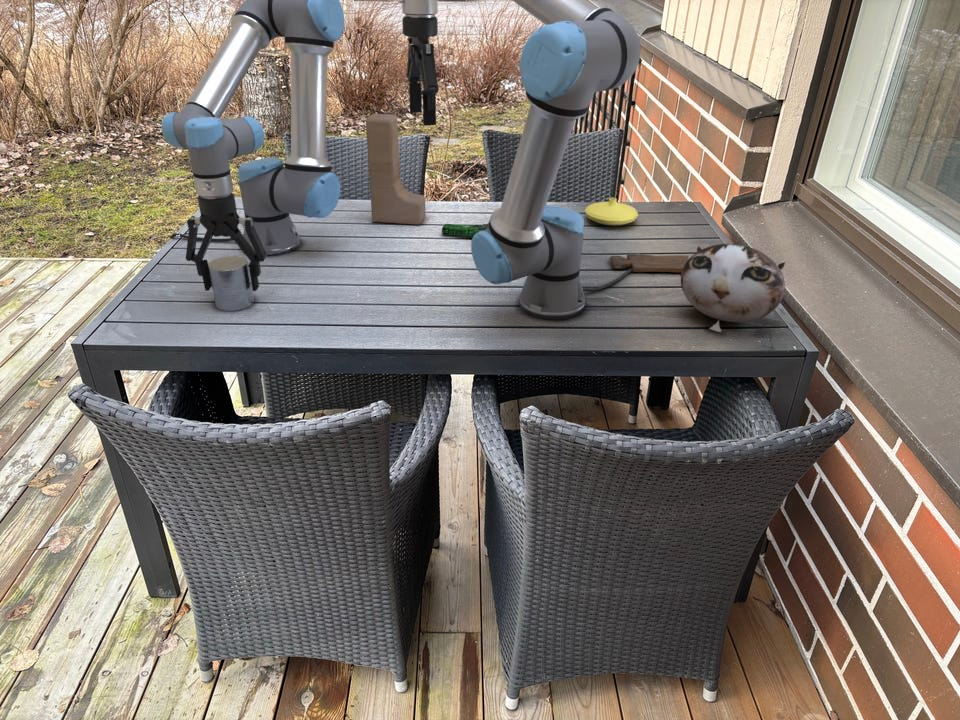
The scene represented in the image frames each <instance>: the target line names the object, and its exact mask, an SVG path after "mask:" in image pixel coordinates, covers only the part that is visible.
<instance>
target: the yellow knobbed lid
mask: <svg viewBox="0 0 960 720" xmlns="http://www.w3.org/2000/svg"><path fill="white" fill-rule="evenodd" d="M584 211H585V216H586V217H587V218H588V219H590V220H592V221H593V222H595V223H597V224H600V225H603V226H610V227H611V226H612V227H615V226H624V225H627V224H631V223H633V222H634V221H636V220H637V218H638V217H639V213H638V211H637V210H636V208H635V207H634V206H632V205H629V204H626V203H623V202H617V198H616V197H609V198H608V201H599V202H598V201H597V202H594V203H591V204H589V205H588V206H587V207H586V208H585V210H584Z"/></svg>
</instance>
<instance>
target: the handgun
mask: <svg viewBox="0 0 960 720" xmlns="http://www.w3.org/2000/svg"><path fill="white" fill-rule="evenodd" d="M487 227H488V223H483V224H482V225H479V224H472V225H459V224H453V223H445V224H443V226H442V227H441V235H446V236H454V237H462V238H469V239H470V238H471V239H472V238H473V236H474V235H475V234H476V233H478V232H479V231H485V230H486V229H487Z"/></svg>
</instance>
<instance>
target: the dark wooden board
mask: <svg viewBox="0 0 960 720" xmlns="http://www.w3.org/2000/svg"><path fill="white" fill-rule="evenodd" d="M689 258H690V256H689V255H684V254H683V255H682V254H681V255H679V254H678V255H677V254H676V255H675V254H674V255H673V254H672V255H669V254H668V255H654V254H653V255H652V254H633V253H631V254H627V255H626V257H624V256H621V255H610V257H609V259H610V264H611V267H612V269H613V270H624V269H630V268H631V269H632V268H633V271H632V272H633V273H649V272H652V273H654V272H656V273H657V272H659V273H680V274H681V273H682V269H683V267H684V265H685V263H686V262H687V261H688V259H689Z"/></svg>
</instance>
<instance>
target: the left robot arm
mask: <svg viewBox="0 0 960 720" xmlns="http://www.w3.org/2000/svg"><path fill="white" fill-rule="evenodd" d="M230 27H231V29H230V30H229V32H228V33H227V35H226V37H225V38H224V40H223V42H222V43H221V45H220V46H219V47H218V50H217V51H216V53H215V55H214V56H213V58H212V60H211V62H210V63H209V65H208V66H207V68H206V70H205V71H204V73H203V75H202V76H201V78H200V79H199V81H198V83H197V84H196V86H195V88H194V89H193V91H192V93H191V94H190V96H189V97H188V99H187V101H186V103H185V105H184V106H183V108H182V109H181V111H180V112H179V111H175V112H169V113H168V114H166V115H165V116H163V119H162V121H161V125H160V126H161V133H162V137H163V139H164V140H165V141H166V143H167V144H169V145H170V146H172V147H175V148H178V149H179V148H180V149H182V150H183V149H184V150H187V152H188V157H189V161H190V166H191V170H192V174H193V175H192V177H193V182H194V189H195V193H196V195H198V196H197V203H198V209H199V213H200V217H196V216H194V215H191V216H190V217H189V218H188V219H187V220H186V225H187V228H188V233H187V234H188V235H186V234H182V233H179V232H178V234H177V233H173V234H171V235H170V236H169V240H172V239H174V238H175V237H177V236H176V235H179V234H180V236H178V237H180V238H183V239H187V243H186V252H185V260H186V261H187V262H190V261H191V262H193V263H195V266H196V271H197V275H198V276H199V277H202V281H203V287H204V291H205V292H209V291H210V290H211V289H212V284H211V278H210V273H209V268H208V264H209V262H208V259H204V258H205V255H206V253H207V250H208V248H209V246H210V243H211V242H216V243H217V242H222V243H223V242H233V241H234V243H236V245H237V246H238V248H239V249H240V250H241V252H242V253H243V254H244V255H245V256H246V257H247V260H249V261H250V262H248V267H249V273H250V280H251V286H252V292H257V290H258V289H259V287H260V284H259V283H260V282H259V277H260V276H261V273H262V270H261V262H264V261H265V260H266V259H267V256H275V255H281V254H282V255H283V254H285V253H289V252H291V251H293V250H296V249H297V248H298V247H299V246H300V244H301V241H300V235H299V233H298V231H297V230H298V229H297V226H296V225H295V224H294V223H293V220H292V218H291V216H290V215H296V216H303V217H307V218H310V219H311V218H317V219H321V218H322V219H323V218H327V217H328V216H330V215H331V214H332V213H333V212H334V211H335V208H336V207H337V205H338V202H339V201H340V198H341V197H340V196H341V182H340V179H339V177H338V176H337V175H336V174H335V173H333V172H332V163H331V162H330V161H329V160H328V159H327V157H326V155H327V153H326V152H327V103H328V102H327V97H328V93H327V92H328V57H329V55H330V54H331V53H332V52H333V51H334V50H335V49H334V48H335V42H337V41H339V40H340V39H341V38H342V36H343V33H344V30H345V13H344V9H343V7H342V3H341V1H340V0H244V1H243V2H242V4H241V5H239V7H238V8H237V10H236V11H235V13H234V14H233V16H232V17H231V20H230ZM281 37H282V38H284V46H285V47H286V48H287V49H288V50H289V52H290V155H289V157H287V158H286V160H284V161H283V160H282V159H281V158H280V157H265V158H259V159H253V160H250V161H247V162H244V163H242V164H241V165H240V166H239V167H238V170H237V174H238V185H239V192H240V197H241V202H242V203H241V204H242V208H243V209H242V210H243V212H244V213H243V215H244V217H240V215H239V214H238V209H237V203H236V197H235V194H234V186H233V180H232V173H231V168H230V162H229V161H232V160H235V159H236V158H237V159H238V158H240V157H242V156H246V155H249V154H253V152H255V151H256V150H258V149H260V148H261V147H262V146H263V145H264V142H265V131H264V128H263V126H262V124H261V123H260V122H259V120H257V119H256V118H255V117H253V116H250V115H245V116H238V117H236V118H226V117H222V116H223V114H224V112H225V110H227V107H228V105H229V104H230V103H231V100H232V98H233V97H234V95H235V93H236V92H237V90H238V89H239V87H240V85H241V83H242V81H244V78H245V77H246V75H247V73H248V71H249V69H250V68H251V66H252V64H253V63H254V61H255V60H256V58H257V56H258V54H259V52H260V51H261V50H263V49H266V48H267V47H268V46H269V45H270V43H271V41H273V40H275V39H276V38H281ZM200 224H201V225H202V227H204V229H206V231H205V235H204V236H203V237H198V232H199V227H200ZM239 225H241V227H242V228H243V234H242V231H241V230H240V229H239V227H238V226H239ZM213 237H214V238H213ZM218 237H225V238H218ZM197 241H201V244H200V246H199V249H198V251H197V253H196V249H197Z"/></svg>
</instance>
